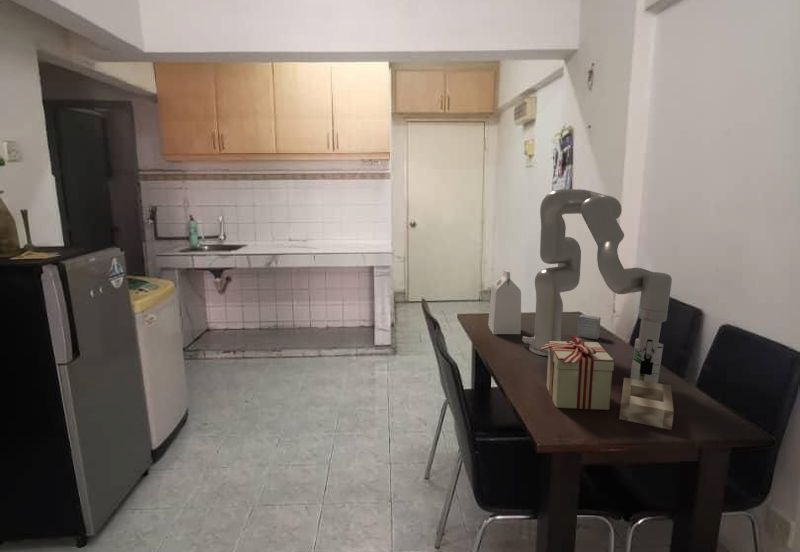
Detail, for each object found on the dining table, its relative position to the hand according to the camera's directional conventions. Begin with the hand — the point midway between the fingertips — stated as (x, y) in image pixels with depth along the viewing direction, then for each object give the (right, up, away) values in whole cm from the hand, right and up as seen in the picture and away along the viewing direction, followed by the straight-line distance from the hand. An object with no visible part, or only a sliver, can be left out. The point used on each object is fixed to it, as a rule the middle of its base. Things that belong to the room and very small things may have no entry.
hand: (645, 368), depth 142 cm
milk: (-31, +5, +57) cm, 65 cm away
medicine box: (+2, +3, +49) cm, 50 cm away
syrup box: (0, -6, +1) cm, 6 cm away
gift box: (-26, -7, -8) cm, 28 cm away
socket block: (-8, -9, -14) cm, 18 cm away
